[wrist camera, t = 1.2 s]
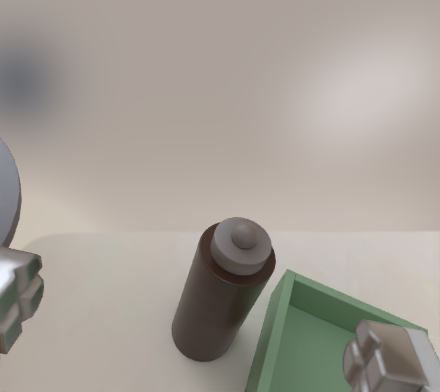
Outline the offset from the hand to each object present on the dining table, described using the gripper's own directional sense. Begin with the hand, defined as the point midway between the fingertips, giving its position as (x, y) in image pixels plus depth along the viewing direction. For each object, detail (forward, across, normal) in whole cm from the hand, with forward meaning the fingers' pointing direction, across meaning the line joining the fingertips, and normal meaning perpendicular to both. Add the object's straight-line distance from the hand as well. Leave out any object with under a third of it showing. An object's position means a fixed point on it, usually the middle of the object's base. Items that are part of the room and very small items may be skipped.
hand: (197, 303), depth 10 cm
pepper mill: (+14, -1, +18) cm, 23 cm away
